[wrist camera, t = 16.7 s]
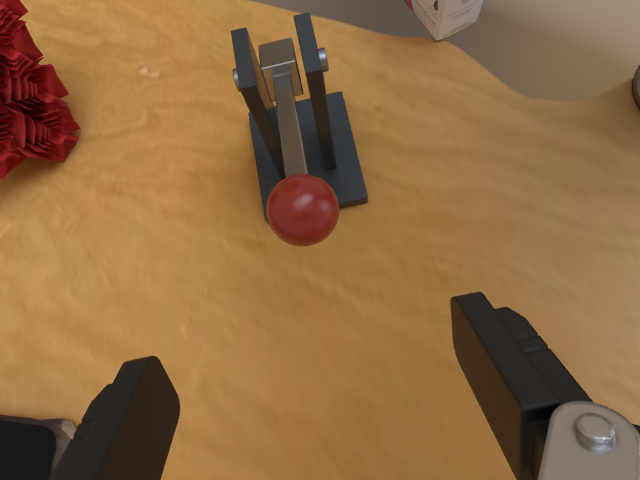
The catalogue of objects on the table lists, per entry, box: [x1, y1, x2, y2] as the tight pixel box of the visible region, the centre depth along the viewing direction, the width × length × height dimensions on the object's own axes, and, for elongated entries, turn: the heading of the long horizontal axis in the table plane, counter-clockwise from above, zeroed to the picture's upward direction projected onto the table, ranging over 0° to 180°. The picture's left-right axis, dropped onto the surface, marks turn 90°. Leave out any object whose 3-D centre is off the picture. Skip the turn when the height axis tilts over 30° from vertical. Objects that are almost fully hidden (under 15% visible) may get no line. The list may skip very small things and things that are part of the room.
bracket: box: [231, 13, 368, 224], centre depth 31 cm, size 11×9×14 cm
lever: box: [259, 38, 339, 246], centre depth 23 cm, size 15×3×3 cm, turn 12°
